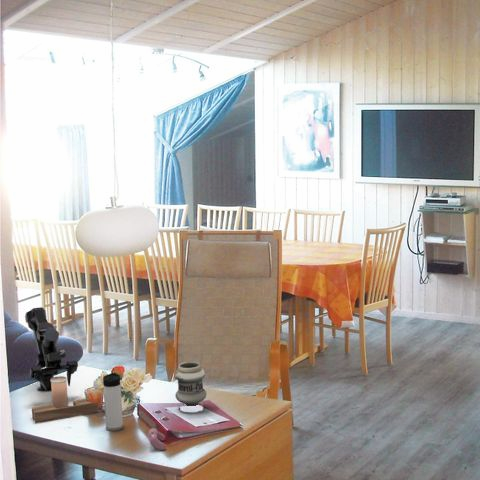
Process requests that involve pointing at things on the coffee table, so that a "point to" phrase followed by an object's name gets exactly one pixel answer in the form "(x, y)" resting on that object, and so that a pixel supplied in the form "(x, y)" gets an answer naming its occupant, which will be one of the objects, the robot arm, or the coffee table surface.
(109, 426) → the travel mug
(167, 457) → the coffee table surface
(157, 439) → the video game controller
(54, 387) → the pink cylinder
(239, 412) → the coffee table surface
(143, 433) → the coffee table surface
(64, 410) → the bar
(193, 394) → the apothecary jar
